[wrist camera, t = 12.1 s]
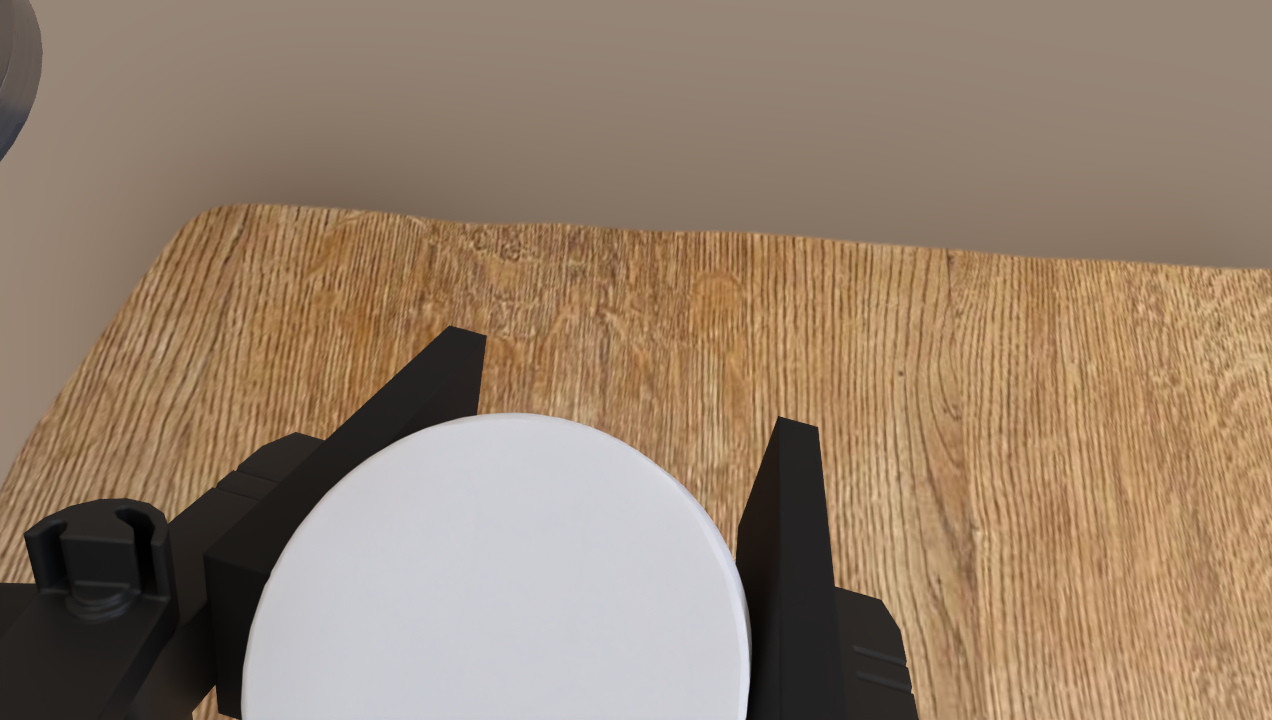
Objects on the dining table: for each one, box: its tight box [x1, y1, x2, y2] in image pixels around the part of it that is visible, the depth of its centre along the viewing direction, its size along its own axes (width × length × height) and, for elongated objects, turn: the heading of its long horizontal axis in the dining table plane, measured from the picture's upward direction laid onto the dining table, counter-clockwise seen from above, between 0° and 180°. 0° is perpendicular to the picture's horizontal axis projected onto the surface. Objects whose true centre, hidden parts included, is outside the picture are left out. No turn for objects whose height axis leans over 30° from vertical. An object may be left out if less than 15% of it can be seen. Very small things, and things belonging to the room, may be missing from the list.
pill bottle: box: [241, 413, 752, 720], centre depth 11 cm, size 6×6×10 cm
